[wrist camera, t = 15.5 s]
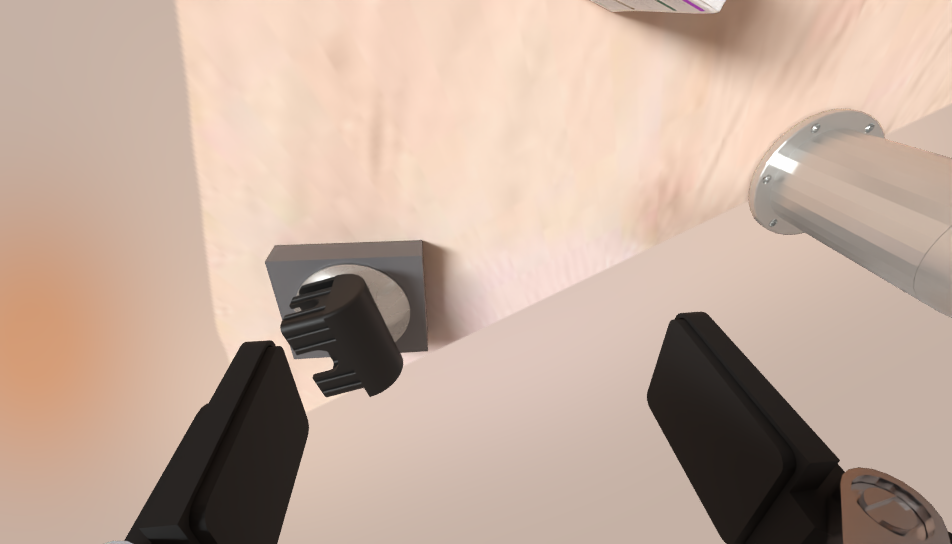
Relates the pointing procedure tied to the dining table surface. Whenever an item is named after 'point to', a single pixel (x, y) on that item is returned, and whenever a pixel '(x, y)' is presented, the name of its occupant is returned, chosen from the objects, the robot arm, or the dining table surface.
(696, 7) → the syrup box
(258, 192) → the dining table surface
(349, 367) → the end cap
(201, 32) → the dining table surface
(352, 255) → the grey domed push button
